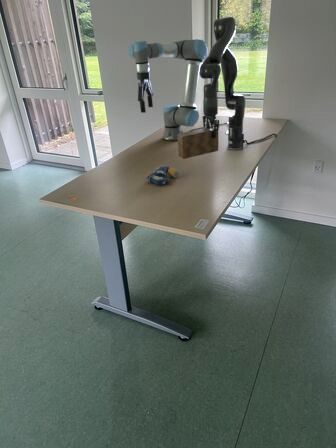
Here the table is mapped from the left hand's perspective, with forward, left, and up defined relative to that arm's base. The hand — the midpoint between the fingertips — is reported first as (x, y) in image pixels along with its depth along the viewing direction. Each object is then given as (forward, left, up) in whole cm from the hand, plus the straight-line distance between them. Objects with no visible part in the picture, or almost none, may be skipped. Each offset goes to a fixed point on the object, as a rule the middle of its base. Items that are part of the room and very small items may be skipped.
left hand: (147, 109), depth 203 cm
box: (-10, +40, -19) cm, 46 cm away
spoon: (-78, -16, -30) cm, 85 cm away
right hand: (-18, +41, -11) cm, 46 cm away
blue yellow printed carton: (+11, +37, -30) cm, 49 cm away
